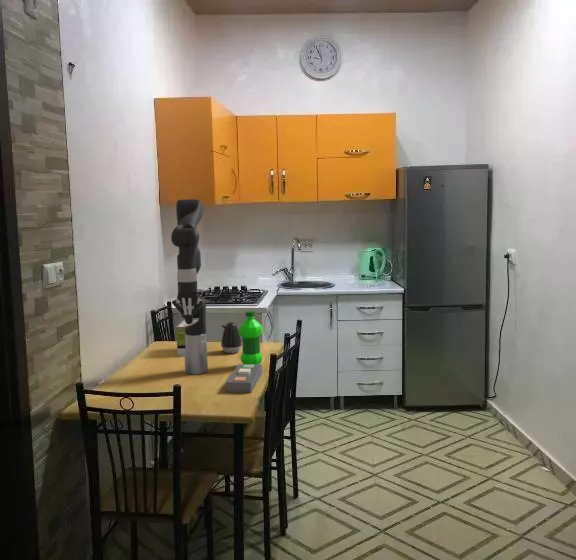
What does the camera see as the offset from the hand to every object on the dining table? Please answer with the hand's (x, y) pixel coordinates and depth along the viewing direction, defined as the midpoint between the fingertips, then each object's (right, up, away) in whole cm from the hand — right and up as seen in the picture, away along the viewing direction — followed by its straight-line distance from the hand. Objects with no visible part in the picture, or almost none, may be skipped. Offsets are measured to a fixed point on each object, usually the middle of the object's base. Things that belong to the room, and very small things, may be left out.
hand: (189, 323), depth 236 cm
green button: (+22, -23, +22) cm, 38 cm away
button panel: (+21, -25, +13) cm, 35 cm away
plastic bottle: (+22, -22, +37) cm, 48 cm away
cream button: (+21, -23, +13) cm, 34 cm away
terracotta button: (+20, -25, +4) cm, 32 cm away
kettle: (+11, -19, +62) cm, 66 cm away
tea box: (-10, -19, +65) cm, 68 cm away
